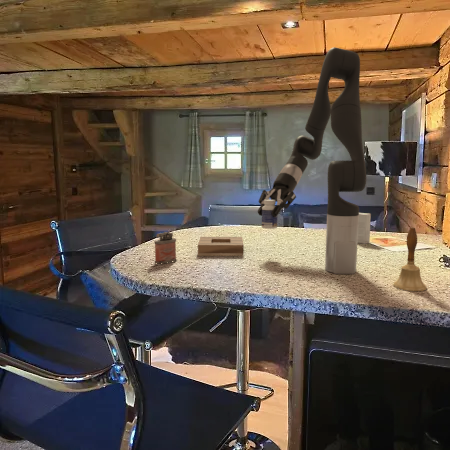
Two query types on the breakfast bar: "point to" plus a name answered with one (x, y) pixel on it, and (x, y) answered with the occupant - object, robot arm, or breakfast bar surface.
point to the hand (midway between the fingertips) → (266, 214)
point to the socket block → (220, 246)
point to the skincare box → (364, 228)
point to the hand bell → (410, 268)
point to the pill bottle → (268, 215)
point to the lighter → (165, 248)
